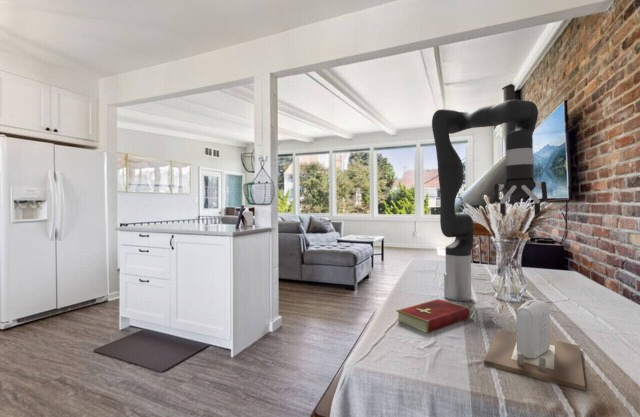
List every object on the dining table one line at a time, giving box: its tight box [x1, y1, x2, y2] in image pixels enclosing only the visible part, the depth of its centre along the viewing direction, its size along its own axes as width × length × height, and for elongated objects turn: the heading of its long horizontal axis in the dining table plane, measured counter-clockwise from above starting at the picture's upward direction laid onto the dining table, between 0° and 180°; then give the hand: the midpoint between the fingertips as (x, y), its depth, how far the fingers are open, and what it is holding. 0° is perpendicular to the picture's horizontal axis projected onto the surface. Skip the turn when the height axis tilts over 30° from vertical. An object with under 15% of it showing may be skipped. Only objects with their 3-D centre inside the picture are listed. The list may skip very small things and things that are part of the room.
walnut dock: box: [483, 329, 586, 391], centre depth 77 cm, size 18×22×4 cm
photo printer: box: [516, 299, 551, 359], centre depth 77 cm, size 10×4×12 cm, turn 124°
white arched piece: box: [469, 300, 500, 324], centre depth 102 cm, size 12×8×5 cm
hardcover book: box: [396, 298, 471, 334], centre depth 102 cm, size 12×21×4 cm, turn 123°
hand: (519, 215), depth 100 cm, fingers open, 8 cm apart
